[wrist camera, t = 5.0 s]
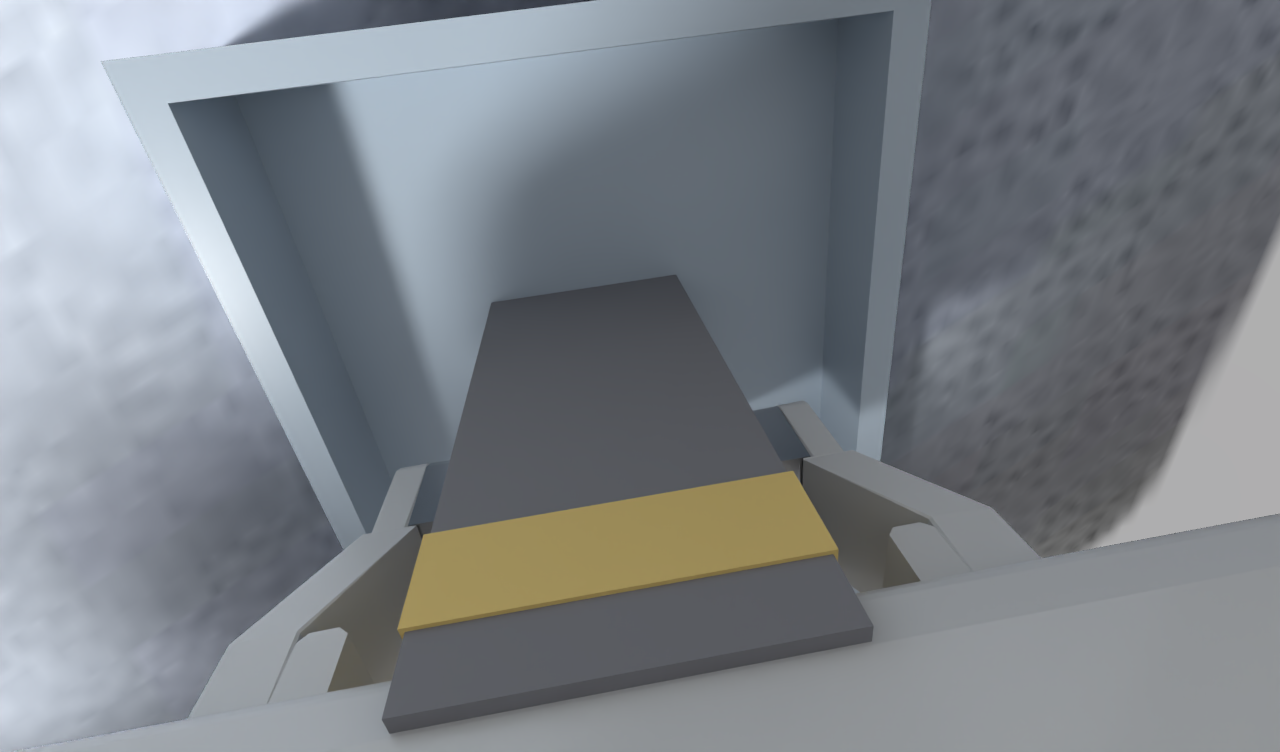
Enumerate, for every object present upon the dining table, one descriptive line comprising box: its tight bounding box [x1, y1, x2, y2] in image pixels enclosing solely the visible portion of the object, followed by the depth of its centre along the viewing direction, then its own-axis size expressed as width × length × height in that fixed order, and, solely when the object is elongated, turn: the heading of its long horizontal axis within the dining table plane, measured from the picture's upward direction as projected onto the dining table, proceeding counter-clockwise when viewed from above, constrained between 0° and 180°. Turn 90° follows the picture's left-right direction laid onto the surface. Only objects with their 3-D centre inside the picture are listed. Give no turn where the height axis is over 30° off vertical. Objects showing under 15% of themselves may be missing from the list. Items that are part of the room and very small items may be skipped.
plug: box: [382, 275, 874, 734], centre depth 10 cm, size 4×4×9 cm
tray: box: [101, 0, 932, 593], centre depth 13 cm, size 14×12×3 cm
